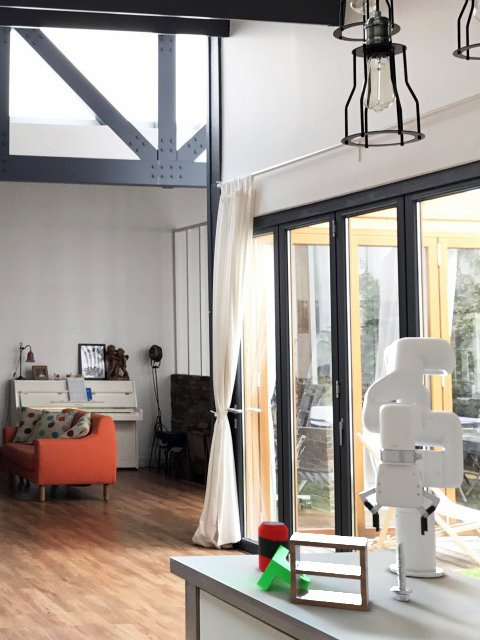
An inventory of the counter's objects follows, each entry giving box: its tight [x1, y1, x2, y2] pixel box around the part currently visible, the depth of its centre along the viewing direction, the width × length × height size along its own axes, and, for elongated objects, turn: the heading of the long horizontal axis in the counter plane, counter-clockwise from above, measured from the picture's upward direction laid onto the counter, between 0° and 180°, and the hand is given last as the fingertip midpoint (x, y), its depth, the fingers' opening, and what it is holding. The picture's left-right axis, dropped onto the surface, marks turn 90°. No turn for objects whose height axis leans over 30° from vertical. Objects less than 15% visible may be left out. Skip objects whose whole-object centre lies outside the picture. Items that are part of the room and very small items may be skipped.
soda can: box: [257, 520, 290, 573], centre depth 264 cm, size 8×8×12 cm
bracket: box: [256, 545, 312, 591], centre depth 248 cm, size 20×10×7 cm
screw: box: [390, 542, 415, 602], centre depth 233 cm, size 13×5×5 cm
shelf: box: [289, 532, 370, 612], centre depth 230 cm, size 10×16×14 cm, turn 66°
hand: (400, 532), depth 234 cm, fingers open, 9 cm apart
